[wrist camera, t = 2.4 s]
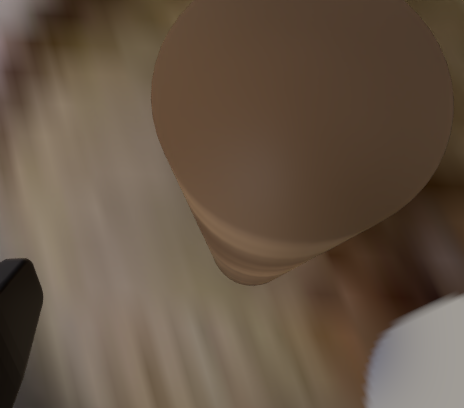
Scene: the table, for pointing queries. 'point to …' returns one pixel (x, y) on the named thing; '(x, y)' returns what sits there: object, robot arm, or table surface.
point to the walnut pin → (298, 123)
